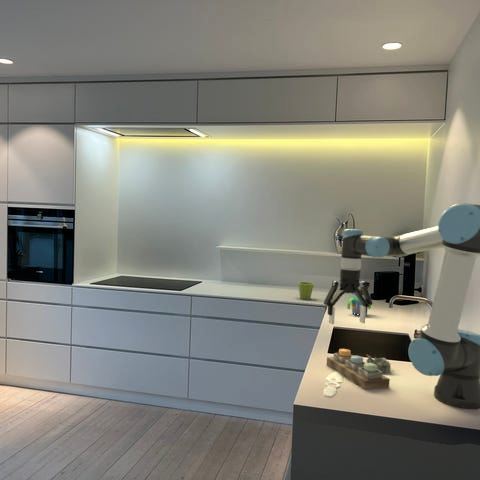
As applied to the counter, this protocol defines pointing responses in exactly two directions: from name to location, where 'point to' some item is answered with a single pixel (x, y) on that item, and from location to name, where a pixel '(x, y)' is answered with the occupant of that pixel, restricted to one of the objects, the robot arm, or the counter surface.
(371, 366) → the sage button
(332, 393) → the cream scalloped strip
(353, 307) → the snack cup
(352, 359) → the slate button
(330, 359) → the wooden tray
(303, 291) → the plant pot
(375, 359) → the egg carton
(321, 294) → the counter surface
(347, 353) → the orange button
